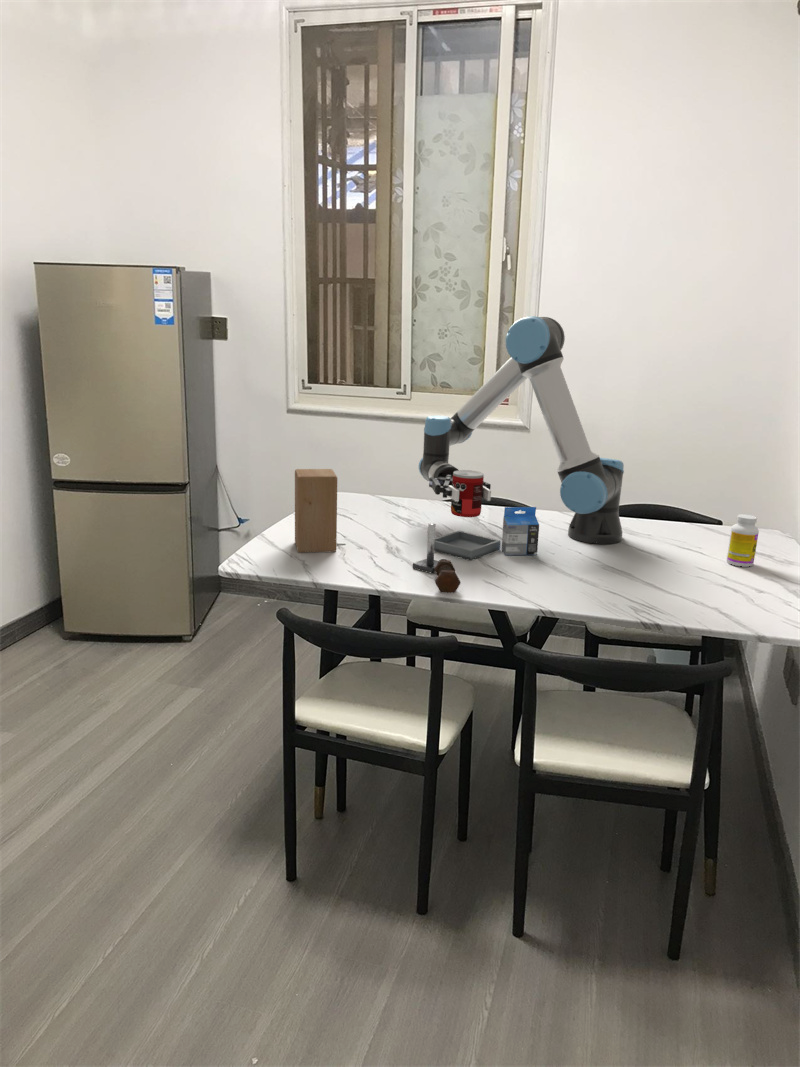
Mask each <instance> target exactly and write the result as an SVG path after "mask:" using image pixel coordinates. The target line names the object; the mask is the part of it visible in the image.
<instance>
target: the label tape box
mask: <svg viewBox="0 0 800 1067" xmlns="http://www.w3.org/2000/svg"><path fill="white" fill-rule="evenodd" d="M536 511H537V506H505V507H504V511H503V512H504V514H503V519H502V521H503V522H502V539H501V552H502V553H503V555H505V556H533V555H534V556H535V555H538V548H539V545H538V544H539V533H540V523H539V521H538V519H537V517H536ZM517 512H520V513H517ZM521 512H522V513H521ZM523 512H524V513H523Z"/></svg>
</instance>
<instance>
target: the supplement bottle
mask: <svg viewBox="0 0 800 1067" xmlns="http://www.w3.org/2000/svg"><path fill="white" fill-rule="evenodd" d="M757 519H758V518H757V517H756V516H755V515H751V514H745V513H744V514H738V515H737V518H736V522H737V523H735V524H733V525H732V526H731V529H730V535H729V541H728V546H727V554H726V558H725V559H726V562H727V563H728V564H729V565H731V564H732V565H731V566H734V565H735V567H740V566H742V567H741V568H750V567H752V566H754V562H755V556H756V551H757V544H758V539H759V532H760V530H759V528H758V527H757V526H756V523H757ZM749 566H750V567H749Z"/></svg>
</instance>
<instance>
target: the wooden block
mask: <svg viewBox="0 0 800 1067" xmlns="http://www.w3.org/2000/svg"><path fill="white" fill-rule="evenodd" d="M337 519H338V476H337V474H336V473H335V471H334V470H333V469H332V468H297V469H295V470H294V543H295V546H296V551H297V553H332V552H333V553H335V552H336V551H337V540H338V539H337V538H338V537H337V533H338V532H337V529H338V528H337V527H338V526H337V525H338V520H337Z"/></svg>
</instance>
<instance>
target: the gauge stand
mask: <svg viewBox="0 0 800 1067" xmlns="http://www.w3.org/2000/svg"><path fill="white" fill-rule="evenodd" d="M436 525H437V524H436V523H434V522H430V523H428V524H427V545H426V547H427V548H426V558H424V559H422V560H418V561H416V562H413V563H412V568H413V569H415V568H416V569H415V570H418V569H420V570H419V571H422V570H423V571H422V572H425V571H427V572H426V573H429V572H431V573H430V574H435V573H436V572H435V567H436V565H437V563H438V562H439V560H436V559H435V551H434V549H435V538H436V529H437V528H436ZM434 572H435V573H434Z"/></svg>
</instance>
